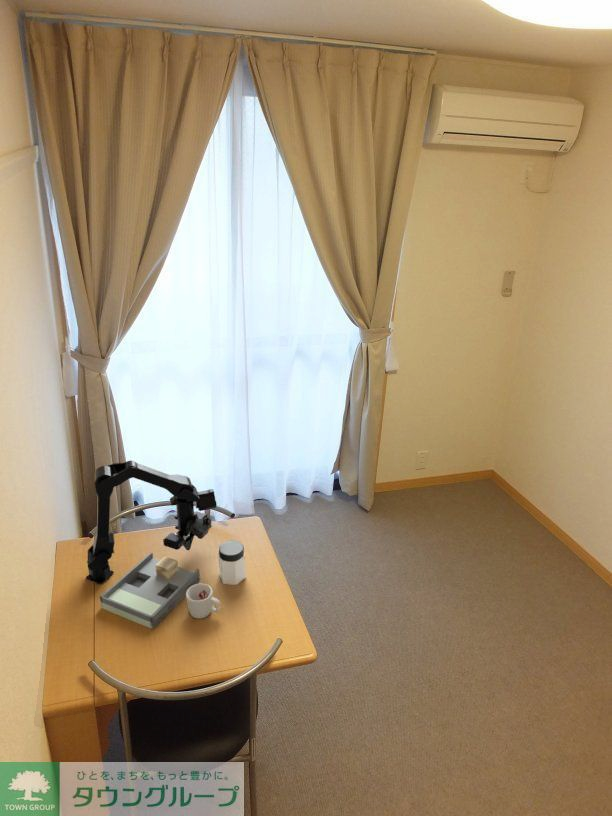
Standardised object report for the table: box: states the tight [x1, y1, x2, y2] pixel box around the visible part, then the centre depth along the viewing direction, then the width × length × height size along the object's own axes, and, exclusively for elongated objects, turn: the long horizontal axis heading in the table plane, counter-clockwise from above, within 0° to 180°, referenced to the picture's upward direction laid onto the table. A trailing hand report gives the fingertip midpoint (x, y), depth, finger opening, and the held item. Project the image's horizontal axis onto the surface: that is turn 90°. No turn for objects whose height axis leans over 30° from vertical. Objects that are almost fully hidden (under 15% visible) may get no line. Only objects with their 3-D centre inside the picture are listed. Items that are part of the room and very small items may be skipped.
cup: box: [185, 583, 221, 619], centre depth 167 cm, size 11×8×8 cm
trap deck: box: [99, 551, 201, 630], centre depth 175 cm, size 20×24×4 cm
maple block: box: [156, 555, 179, 579], centre depth 181 cm, size 5×5×4 cm
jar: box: [218, 539, 246, 586], centre depth 181 cm, size 9×8×12 cm
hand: (188, 549), depth 191 cm, fingers closed
